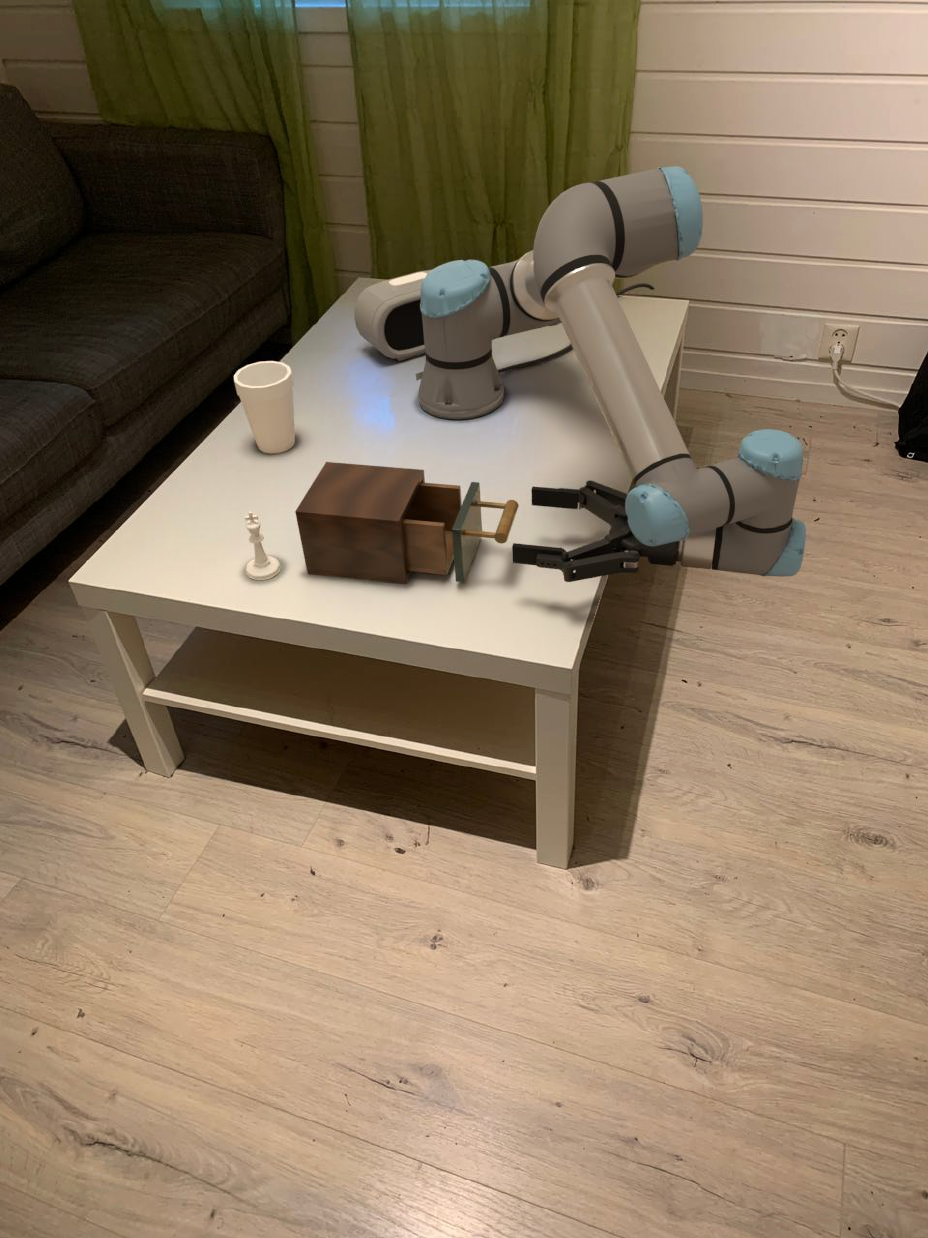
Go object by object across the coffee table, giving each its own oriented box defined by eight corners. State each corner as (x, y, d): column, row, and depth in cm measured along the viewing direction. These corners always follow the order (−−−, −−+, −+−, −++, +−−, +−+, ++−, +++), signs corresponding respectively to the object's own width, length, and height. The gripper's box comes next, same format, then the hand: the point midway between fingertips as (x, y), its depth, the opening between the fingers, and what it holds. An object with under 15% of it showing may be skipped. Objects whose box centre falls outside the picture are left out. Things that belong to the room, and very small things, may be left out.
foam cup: (293, 460, 168) (279, 389, 159) (241, 456, 169) (224, 386, 161) (310, 431, 175) (298, 362, 166) (260, 428, 176) (246, 359, 168)
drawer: (521, 537, 146) (520, 485, 140) (505, 586, 138) (504, 534, 132) (393, 525, 150) (387, 474, 144) (370, 572, 142) (362, 520, 136)
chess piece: (248, 561, 147) (234, 504, 140) (281, 557, 147) (269, 500, 140) (245, 581, 143) (230, 524, 137) (279, 578, 143) (266, 521, 137)
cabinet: (429, 531, 150) (424, 469, 143) (406, 584, 141) (399, 521, 134) (336, 522, 153) (326, 461, 146) (307, 573, 144) (295, 511, 137)
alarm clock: (380, 369, 191) (372, 301, 182) (358, 351, 197) (350, 284, 188) (473, 340, 198) (470, 274, 189) (449, 324, 204) (445, 258, 196)
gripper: (670, 620, 126) (504, 602, 130) (685, 508, 144) (539, 495, 149) (675, 573, 121) (503, 556, 126) (690, 463, 139) (539, 451, 144)
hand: (522, 523), depth 137 cm, fingers open, 13 cm apart
